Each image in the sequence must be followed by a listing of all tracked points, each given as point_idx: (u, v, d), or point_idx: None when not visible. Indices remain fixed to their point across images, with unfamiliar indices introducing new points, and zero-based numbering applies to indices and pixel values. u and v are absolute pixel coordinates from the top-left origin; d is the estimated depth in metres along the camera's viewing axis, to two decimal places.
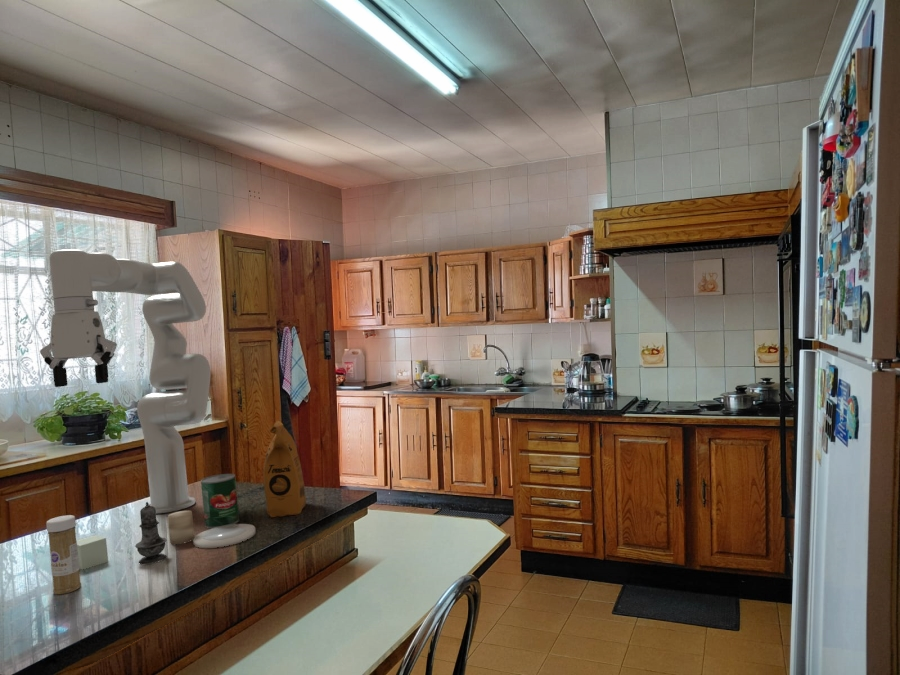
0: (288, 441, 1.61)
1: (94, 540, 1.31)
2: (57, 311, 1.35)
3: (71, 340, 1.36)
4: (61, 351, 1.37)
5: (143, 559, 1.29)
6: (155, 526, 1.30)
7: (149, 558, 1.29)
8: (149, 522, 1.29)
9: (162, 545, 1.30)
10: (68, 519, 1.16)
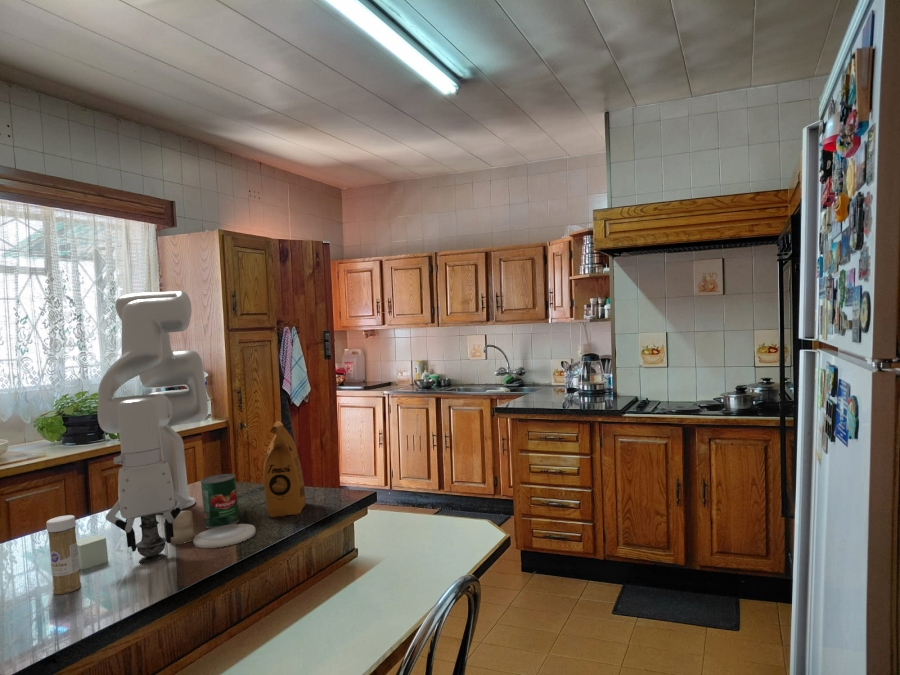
0: (288, 441, 1.61)
1: (94, 540, 1.31)
2: None
3: None
4: None
5: (143, 559, 1.29)
6: (155, 526, 1.30)
7: (149, 558, 1.29)
8: (149, 522, 1.29)
9: (162, 545, 1.30)
10: (68, 519, 1.16)
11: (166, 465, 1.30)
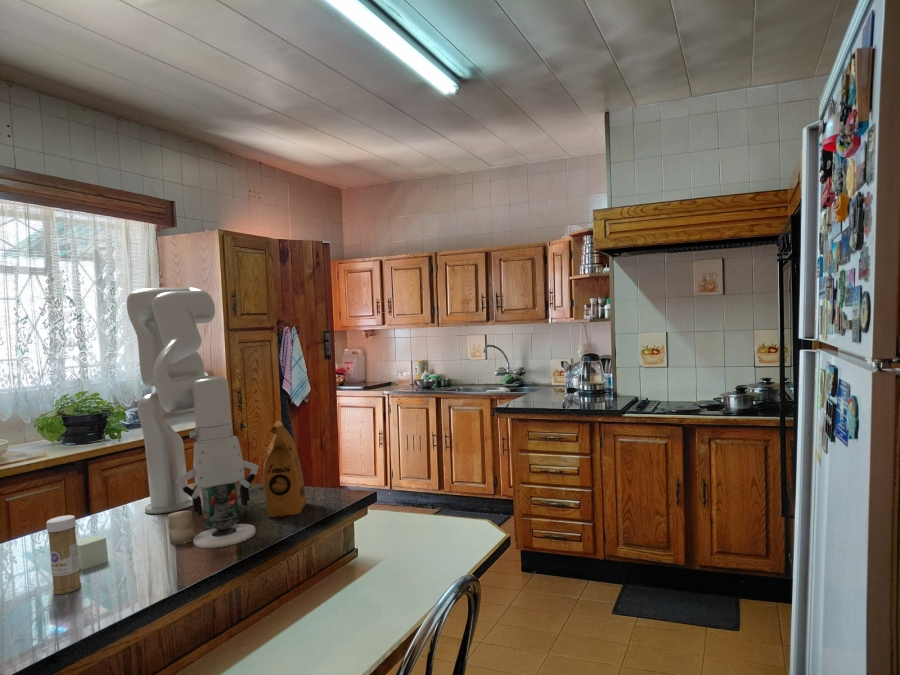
0: (288, 441, 1.61)
1: (94, 540, 1.31)
2: None
3: None
4: None
5: (216, 532, 1.40)
6: (227, 501, 1.40)
7: (221, 531, 1.40)
8: (222, 497, 1.39)
9: (233, 519, 1.40)
10: (68, 519, 1.16)
11: (236, 439, 1.41)
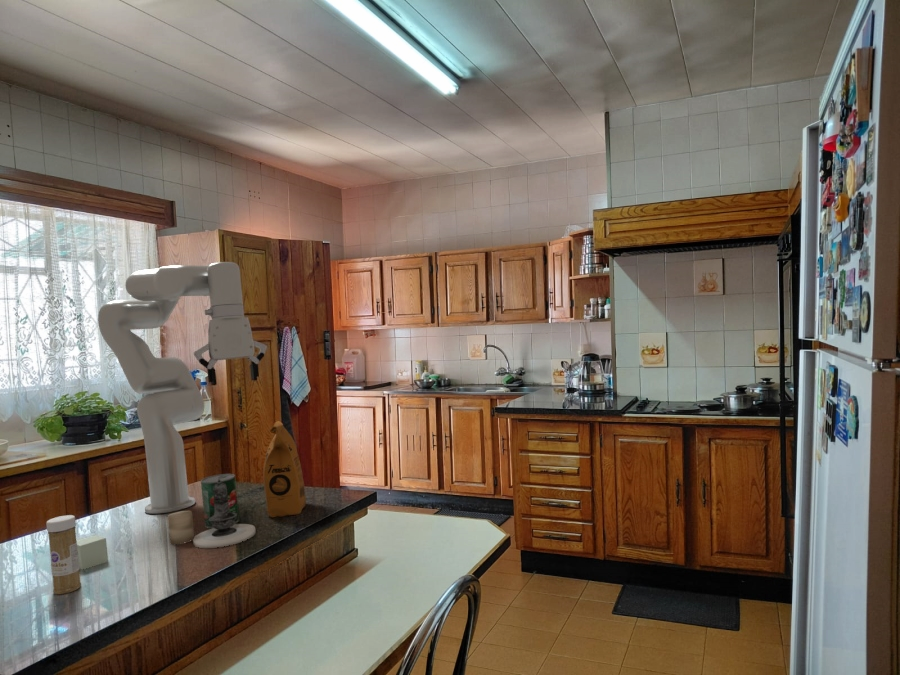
0: (288, 441, 1.61)
1: (94, 540, 1.31)
2: None
3: None
4: None
5: (216, 532, 1.40)
6: (227, 501, 1.40)
7: (221, 531, 1.40)
8: (221, 497, 1.39)
9: (233, 519, 1.40)
10: (68, 519, 1.16)
11: (247, 319, 1.55)
